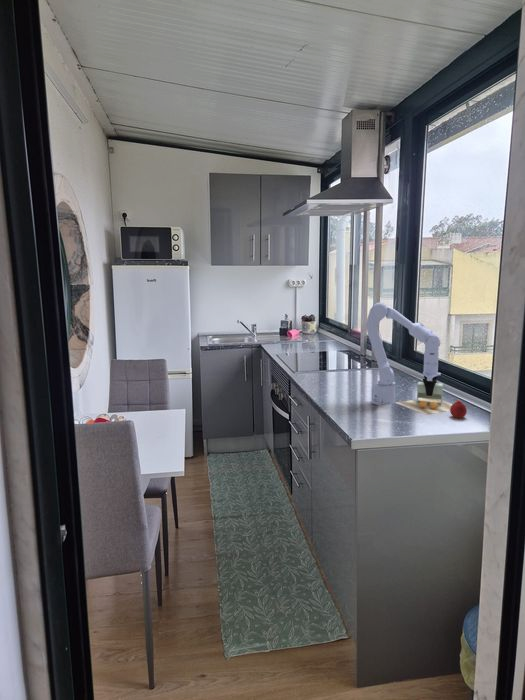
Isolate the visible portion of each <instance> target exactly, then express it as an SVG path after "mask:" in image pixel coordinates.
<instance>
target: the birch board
mask: <svg viewBox="0 0 525 700" xmlns="http://www.w3.org/2000/svg"><path fill="white" fill-rule="evenodd" d="M421 401H426V402H427V406H426V407H425V408H422V407H420V402H421ZM433 401H434V402H436V403H437V408H435V409H432V408H431V407H430V403H431V402H433ZM395 404H396V405H397V404H398V405H400V406H402V407H404V408H407V409H410V410H412V411H415V412H418V413H420V414H421V415H422V414H423V415H425V416H427V415H435V414H441V413H445V412H450V408H451V406H452V404H453V403H450V402H447V401H445V400H442V402H441V400H439V399H428V398H418V400H417V398H416V399H410V400H404V401H398V402H397V401H396V402H395Z"/></svg>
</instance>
